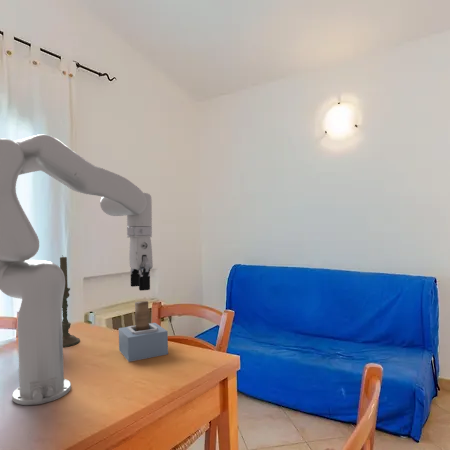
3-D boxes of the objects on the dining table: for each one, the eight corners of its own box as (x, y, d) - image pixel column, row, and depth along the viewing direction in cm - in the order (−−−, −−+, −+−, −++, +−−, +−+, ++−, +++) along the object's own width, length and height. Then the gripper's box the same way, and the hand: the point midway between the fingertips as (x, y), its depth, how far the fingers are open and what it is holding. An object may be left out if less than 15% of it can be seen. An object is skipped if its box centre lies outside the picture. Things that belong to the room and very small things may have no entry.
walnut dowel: (151, 347, 118) (149, 302, 118) (138, 350, 116) (136, 304, 116) (147, 344, 121) (146, 300, 121) (135, 346, 119) (133, 302, 119)
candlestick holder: (52, 340, 133) (50, 254, 133) (80, 337, 136) (78, 253, 136) (49, 348, 125) (46, 256, 125) (79, 345, 127) (76, 255, 127)
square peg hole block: (168, 354, 116) (167, 329, 116) (128, 361, 111) (127, 335, 111) (155, 343, 127) (155, 320, 127) (119, 350, 121) (118, 326, 121)
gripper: (160, 232, 113) (160, 290, 112) (143, 232, 128) (144, 284, 128) (134, 232, 109) (135, 292, 109) (120, 233, 124) (121, 285, 124)
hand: (140, 288), depth 118 cm, fingers open, 9 cm apart
